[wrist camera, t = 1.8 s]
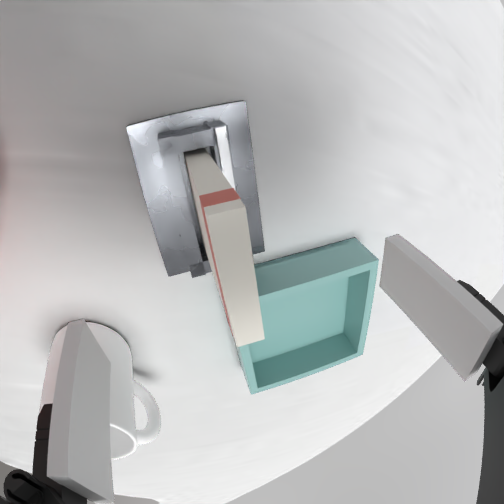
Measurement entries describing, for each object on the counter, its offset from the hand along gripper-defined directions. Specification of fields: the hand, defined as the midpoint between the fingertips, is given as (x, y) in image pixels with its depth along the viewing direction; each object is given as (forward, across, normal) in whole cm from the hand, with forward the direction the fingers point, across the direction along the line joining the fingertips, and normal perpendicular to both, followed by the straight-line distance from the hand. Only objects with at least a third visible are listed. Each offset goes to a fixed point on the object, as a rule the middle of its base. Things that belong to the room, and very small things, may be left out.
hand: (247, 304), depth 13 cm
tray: (+12, +6, -14) cm, 19 cm away
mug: (+13, -13, -14) cm, 23 cm away
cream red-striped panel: (+12, 0, 0) cm, 12 cm away
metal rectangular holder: (+12, 0, 0) cm, 12 cm away
